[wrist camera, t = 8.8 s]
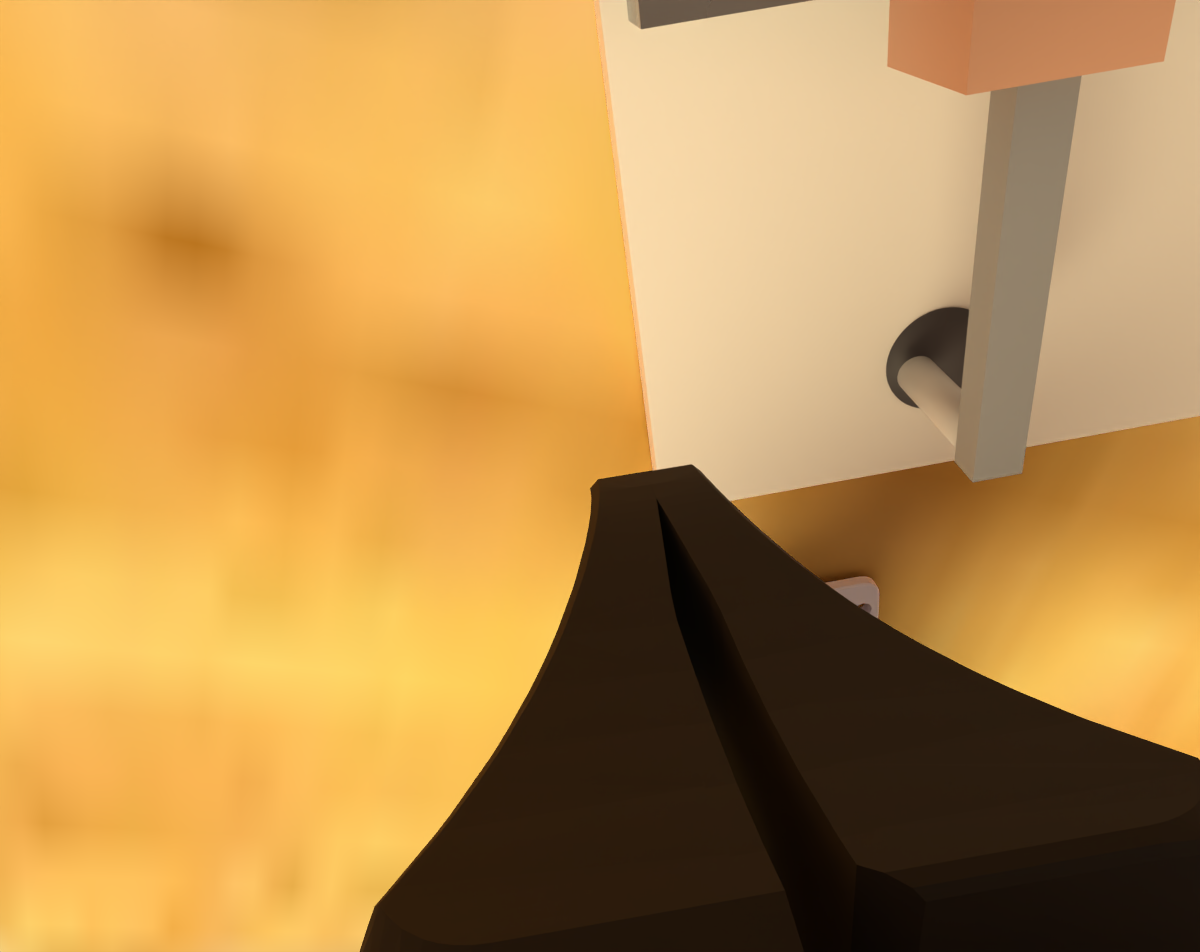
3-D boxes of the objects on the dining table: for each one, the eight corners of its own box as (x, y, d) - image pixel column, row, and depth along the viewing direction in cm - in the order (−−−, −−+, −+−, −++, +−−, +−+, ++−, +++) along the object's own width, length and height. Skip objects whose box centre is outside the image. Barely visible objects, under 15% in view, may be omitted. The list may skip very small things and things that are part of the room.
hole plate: (1531, 333, 24) (1572, 349, 23) (655, 491, 23) (662, 515, 22) (1943, -527, 15) (2036, -556, 14) (554, -305, 14) (560, -319, 14)
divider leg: (977, 380, 21) (1082, 477, 17) (852, 402, 21) (931, 504, 17) (1044, -239, 14) (1232, -291, 11) (866, -210, 14) (995, -252, 11)
